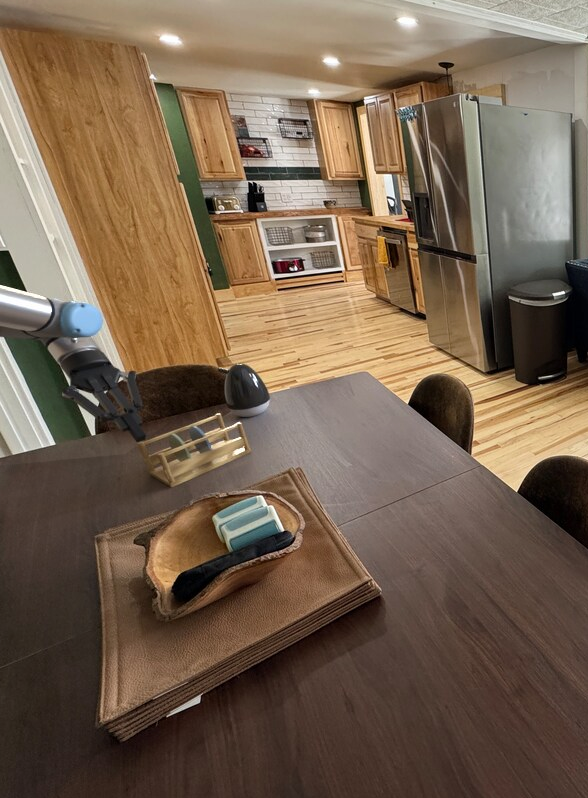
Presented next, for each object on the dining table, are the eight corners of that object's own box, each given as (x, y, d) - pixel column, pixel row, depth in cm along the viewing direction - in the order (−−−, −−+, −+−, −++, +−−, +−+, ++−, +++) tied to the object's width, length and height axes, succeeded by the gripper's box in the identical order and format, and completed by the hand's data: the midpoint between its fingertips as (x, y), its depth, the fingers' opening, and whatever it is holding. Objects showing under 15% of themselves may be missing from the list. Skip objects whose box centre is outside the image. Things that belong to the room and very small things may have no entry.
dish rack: (172, 487, 102) (156, 451, 98) (149, 474, 106) (134, 438, 102) (251, 452, 115) (240, 418, 111) (229, 441, 119) (217, 409, 115)
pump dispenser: (241, 406, 140) (226, 358, 135) (279, 403, 142) (266, 356, 136) (222, 422, 131) (205, 372, 125) (263, 419, 133) (248, 370, 127)
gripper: (40, 358, 102) (104, 445, 101) (118, 341, 112) (177, 419, 111) (42, 376, 106) (103, 459, 105) (117, 357, 116) (174, 433, 116)
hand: (141, 438), depth 108 cm, fingers closed
